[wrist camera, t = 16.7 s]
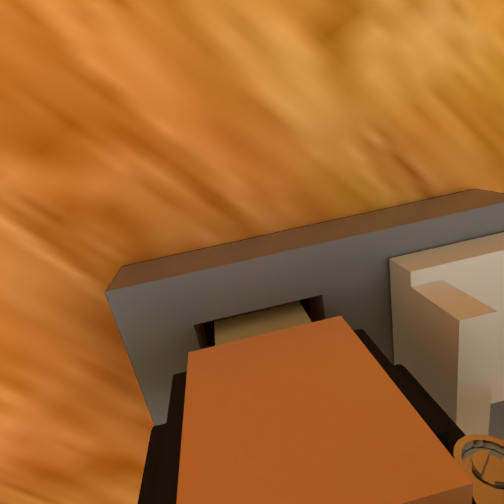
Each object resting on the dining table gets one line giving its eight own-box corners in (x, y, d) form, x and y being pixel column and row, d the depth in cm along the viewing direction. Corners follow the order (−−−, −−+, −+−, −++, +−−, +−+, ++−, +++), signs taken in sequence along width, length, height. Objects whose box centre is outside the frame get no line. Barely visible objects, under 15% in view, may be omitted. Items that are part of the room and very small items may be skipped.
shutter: (514, 368, 13) (605, 435, 10) (395, 399, 13) (454, 478, 10) (528, 226, 11) (647, 256, 8) (389, 258, 11) (459, 302, 8)
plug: (327, 379, 13) (544, 799, 5) (219, 407, 13) (246, 905, 5) (314, 281, 12) (594, 636, 3) (191, 309, 12) (153, 780, 3)
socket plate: (464, 446, 18) (498, 486, 16) (208, 516, 17) (208, 569, 15) (475, 188, 13) (527, 197, 11) (121, 266, 12) (104, 292, 10)
